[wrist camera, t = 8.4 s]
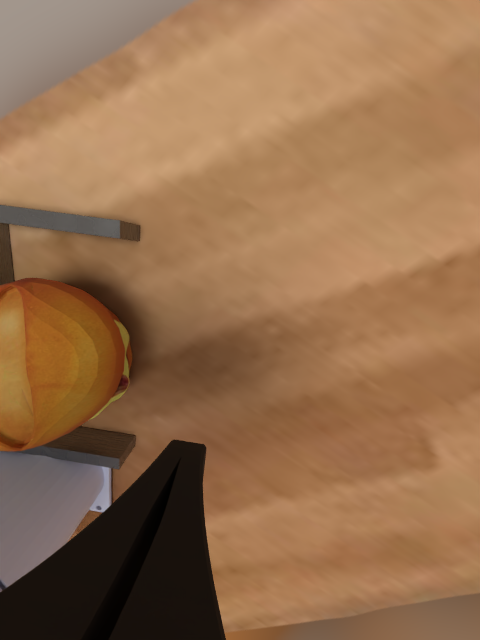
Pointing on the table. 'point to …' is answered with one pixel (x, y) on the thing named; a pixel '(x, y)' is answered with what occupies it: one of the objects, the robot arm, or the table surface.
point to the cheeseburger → (56, 361)
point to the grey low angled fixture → (80, 441)
